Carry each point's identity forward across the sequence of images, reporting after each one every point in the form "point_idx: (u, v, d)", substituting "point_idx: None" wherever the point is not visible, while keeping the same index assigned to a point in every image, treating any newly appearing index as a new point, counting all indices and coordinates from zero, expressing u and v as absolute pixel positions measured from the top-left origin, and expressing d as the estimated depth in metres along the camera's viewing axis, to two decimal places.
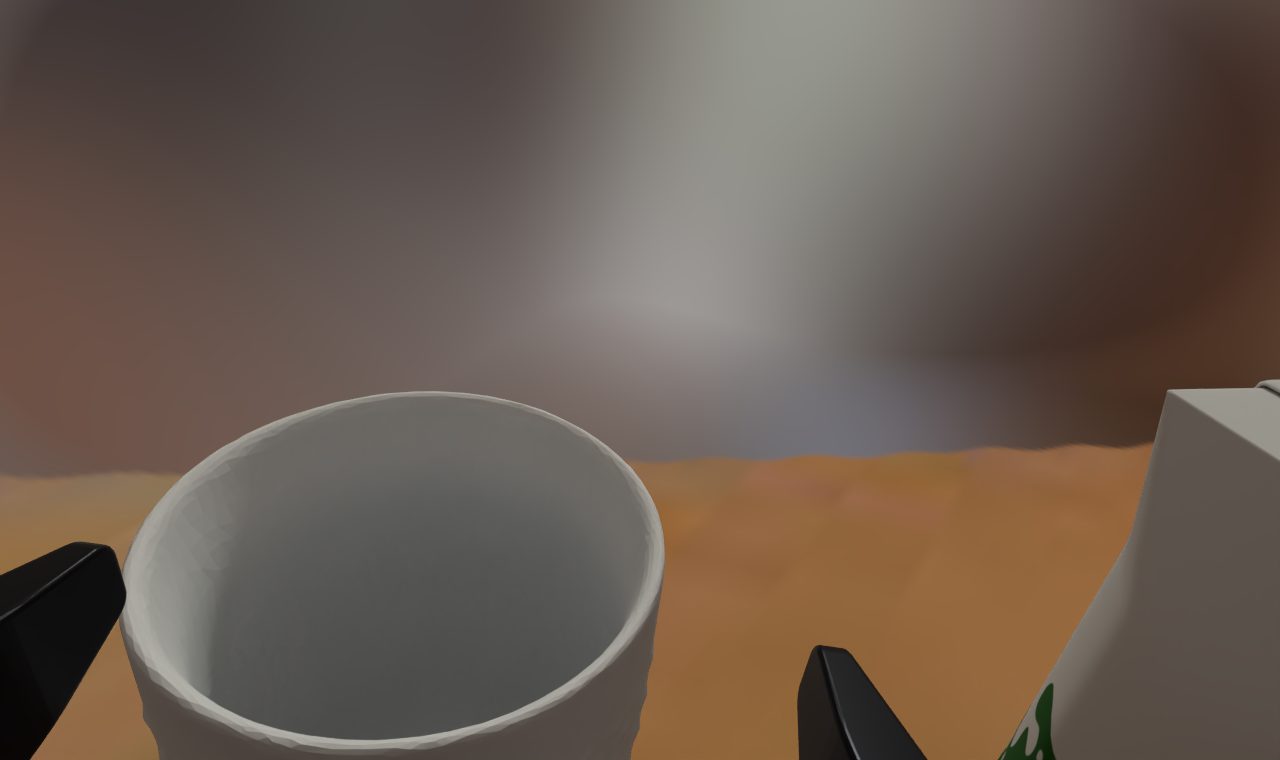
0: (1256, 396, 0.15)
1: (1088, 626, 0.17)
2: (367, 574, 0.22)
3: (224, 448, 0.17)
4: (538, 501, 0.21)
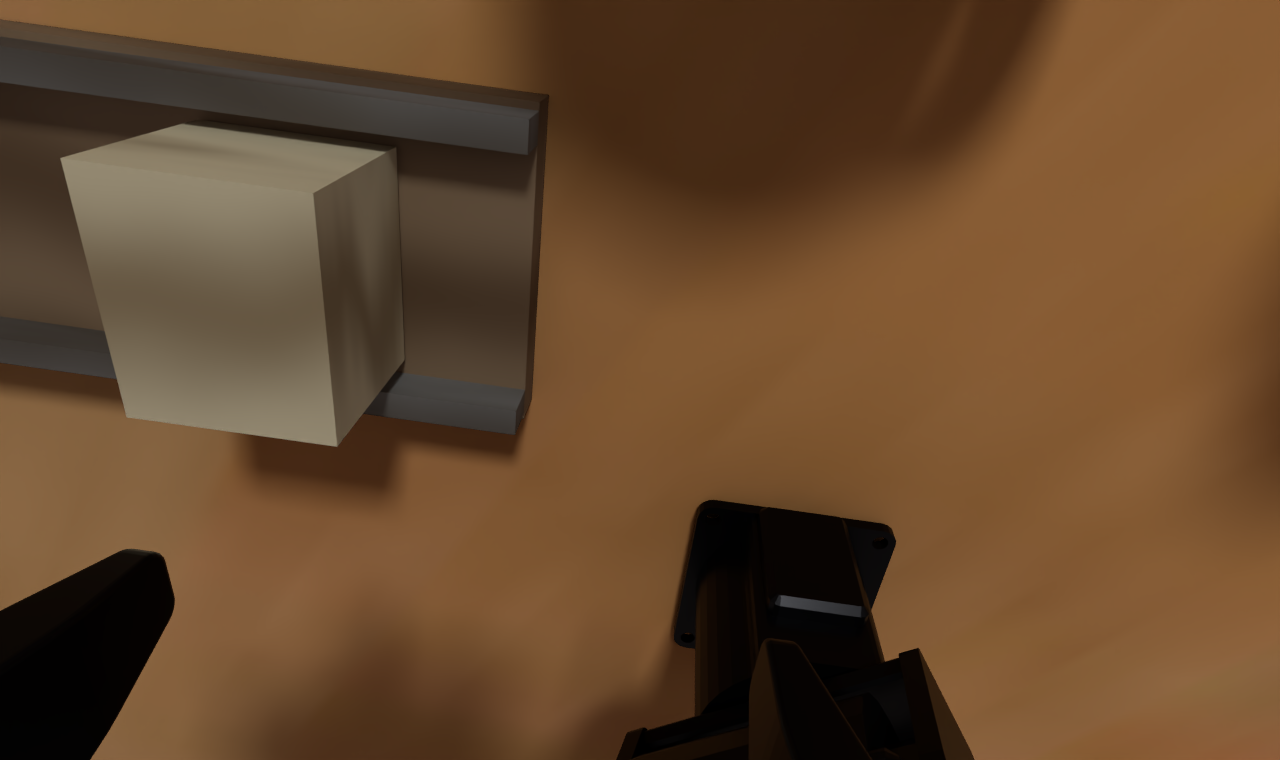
0: None
1: None
2: None
3: None
4: None
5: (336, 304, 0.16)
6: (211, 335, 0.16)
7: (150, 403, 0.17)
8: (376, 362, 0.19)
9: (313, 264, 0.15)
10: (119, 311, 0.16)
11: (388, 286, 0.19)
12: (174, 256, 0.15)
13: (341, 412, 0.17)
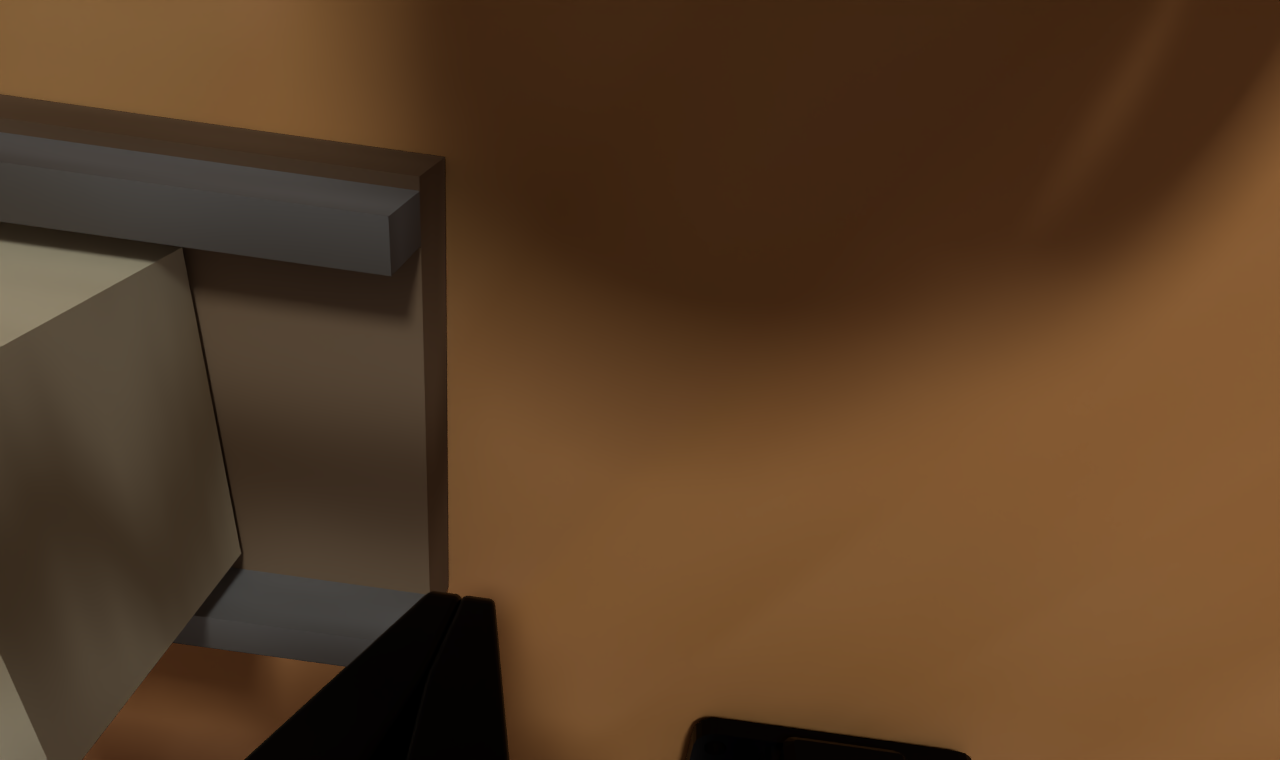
0: None
1: None
2: None
3: None
4: None
5: (19, 570, 0.09)
6: None
7: None
8: (164, 596, 0.12)
9: None
10: None
11: (185, 469, 0.12)
12: None
13: (65, 729, 0.10)
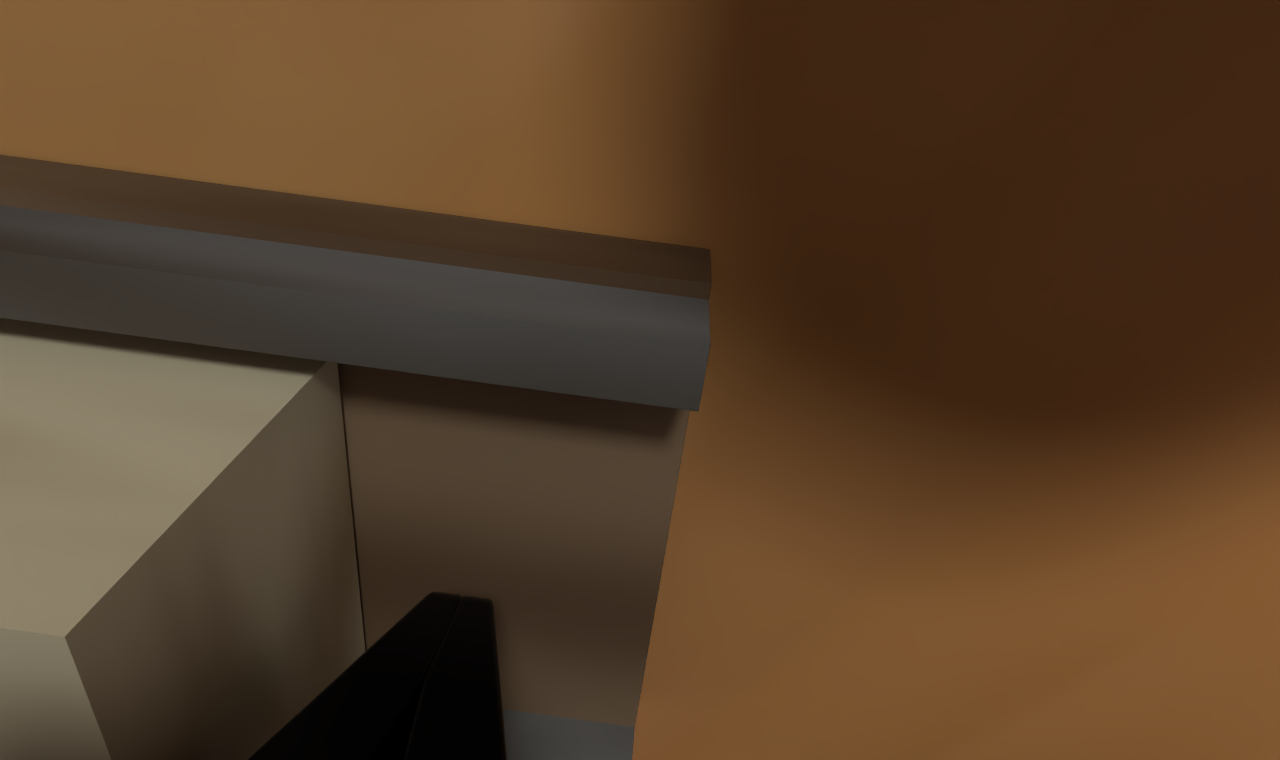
0: None
1: None
2: None
3: None
4: None
5: None
6: None
7: None
8: None
9: None
10: None
11: (327, 602, 0.10)
12: None
13: None
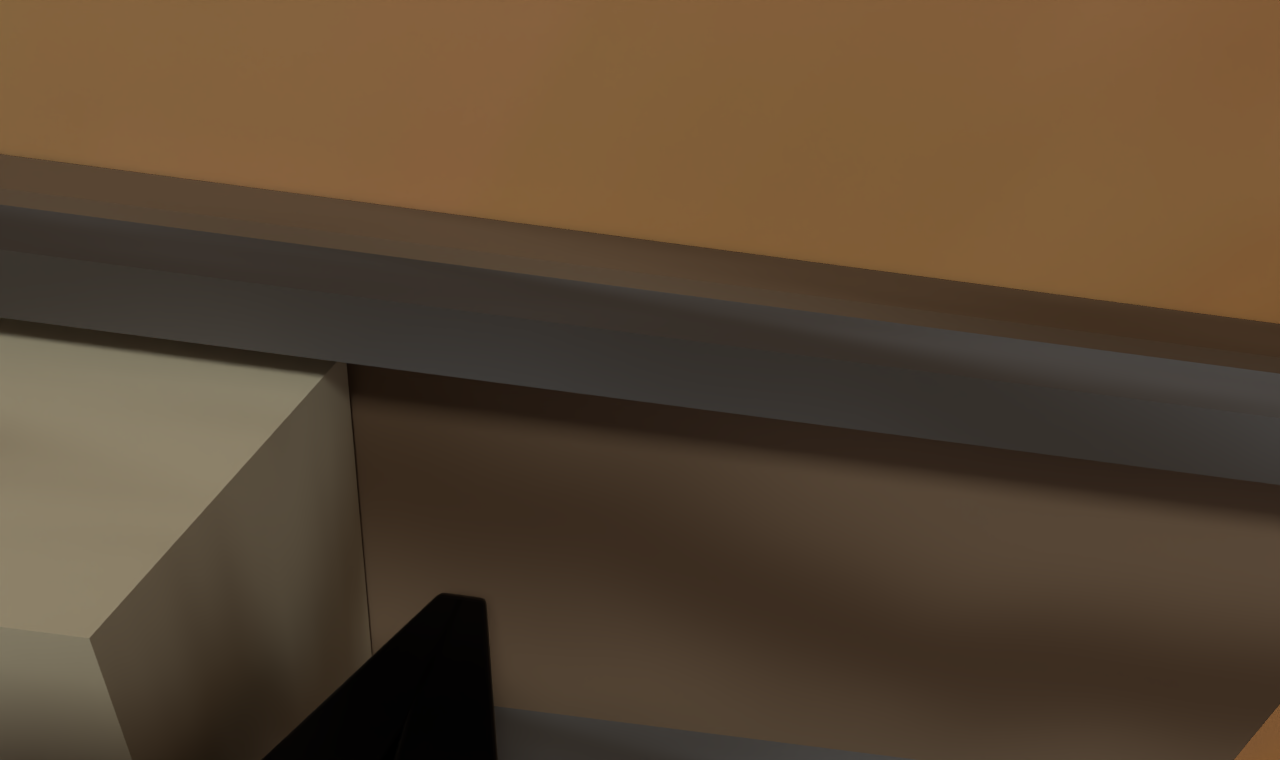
0: None
1: None
2: None
3: None
4: None
5: None
6: None
7: None
8: None
9: None
10: None
11: (336, 603, 0.10)
12: None
13: None
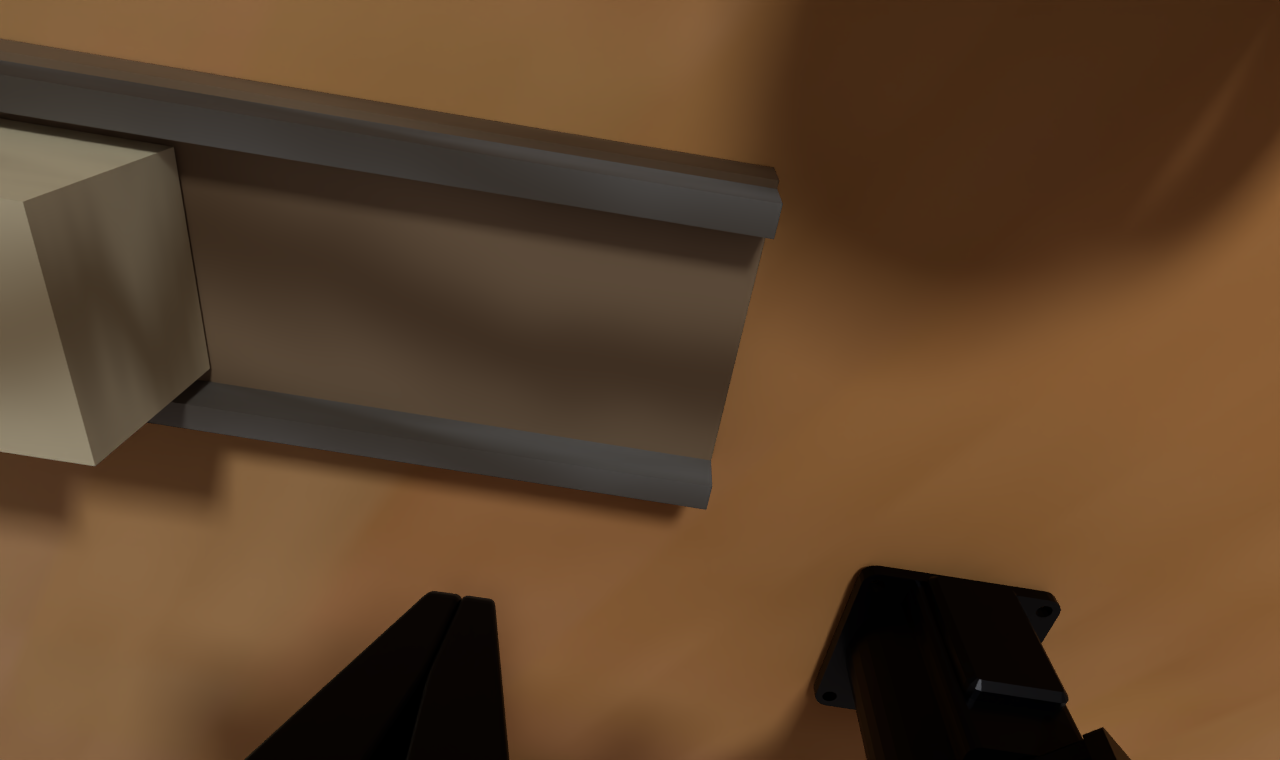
0: None
1: None
2: None
3: None
4: None
5: (77, 317, 0.15)
6: None
7: None
8: (158, 374, 0.18)
9: (36, 277, 0.14)
10: None
11: (173, 294, 0.18)
12: None
13: (99, 430, 0.16)
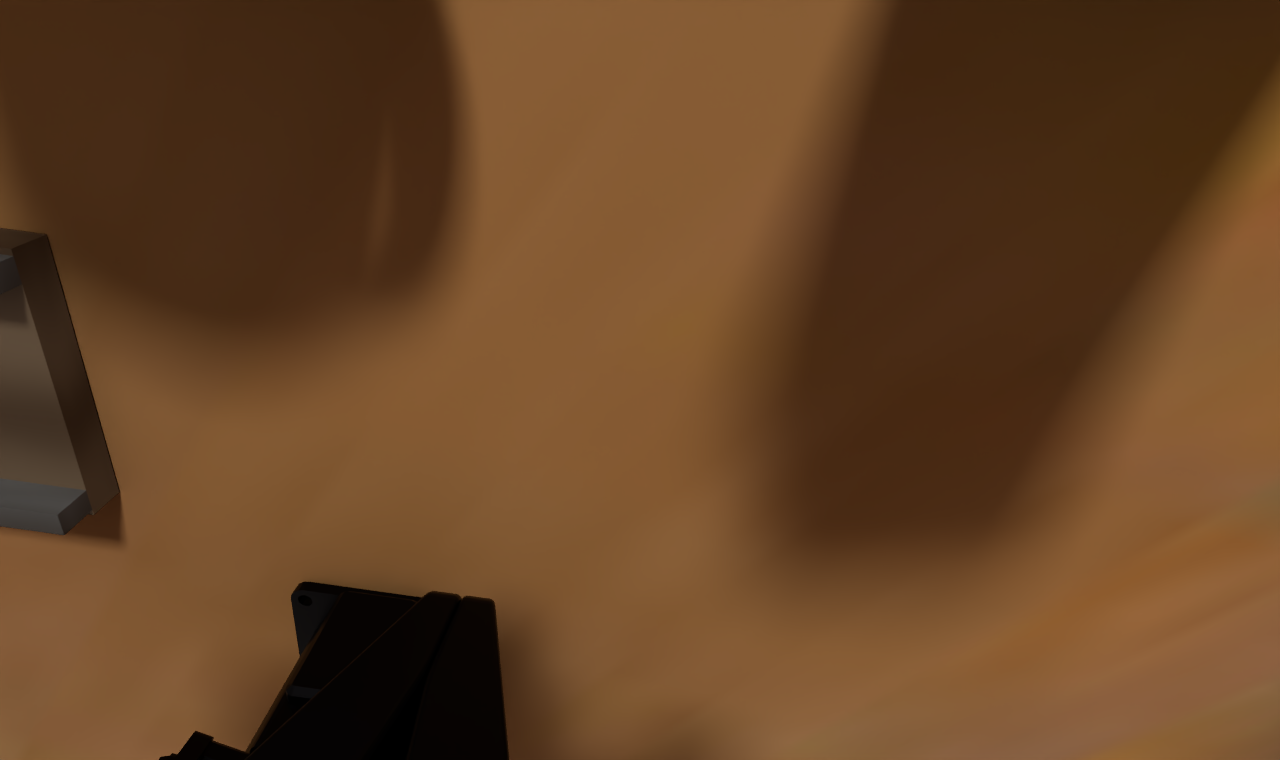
0: None
1: None
2: None
3: None
4: None
5: None
6: None
7: None
8: None
9: None
10: None
11: None
12: None
13: None
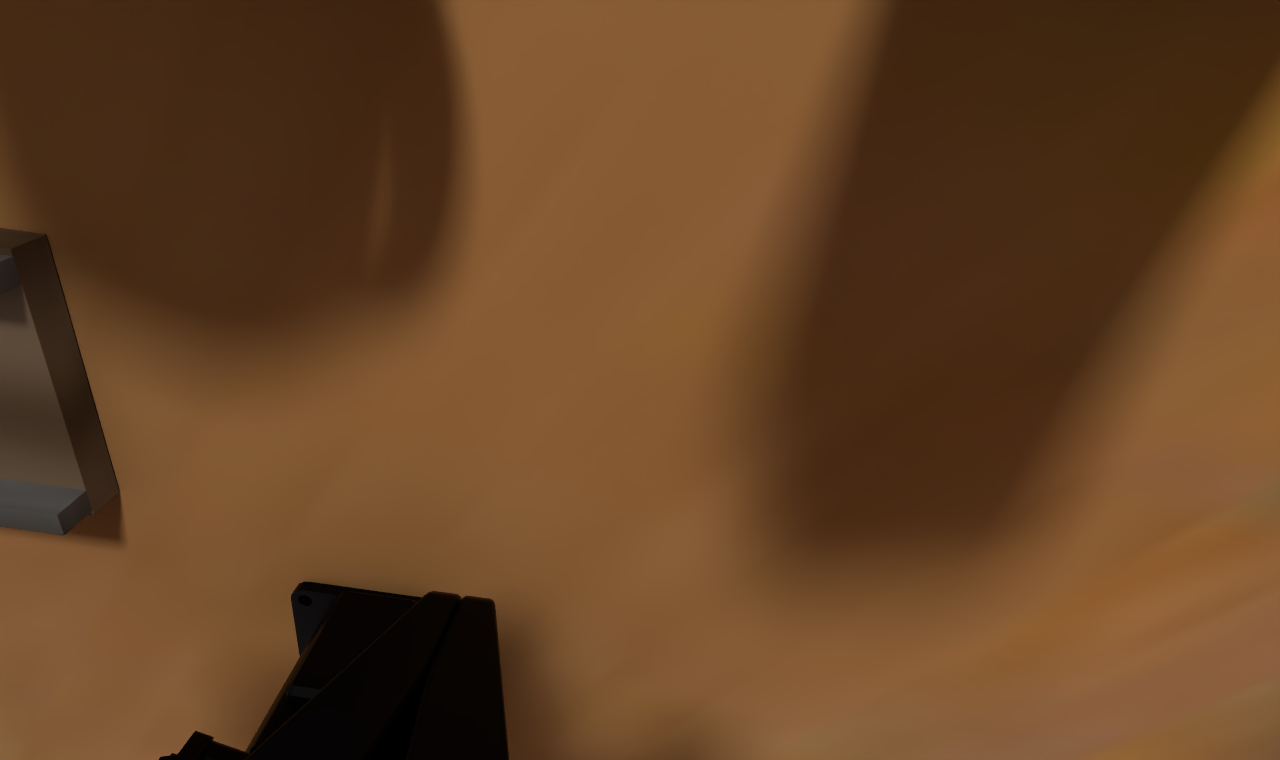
0: None
1: None
2: None
3: None
4: None
5: None
6: None
7: None
8: None
9: None
10: None
11: None
12: None
13: None
